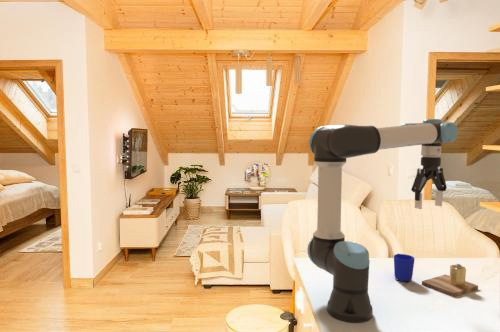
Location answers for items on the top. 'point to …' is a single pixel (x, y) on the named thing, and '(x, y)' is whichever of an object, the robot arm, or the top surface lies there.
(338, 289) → the robot arm
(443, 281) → the board
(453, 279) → the bushing
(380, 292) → the top surface
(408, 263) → the mug
